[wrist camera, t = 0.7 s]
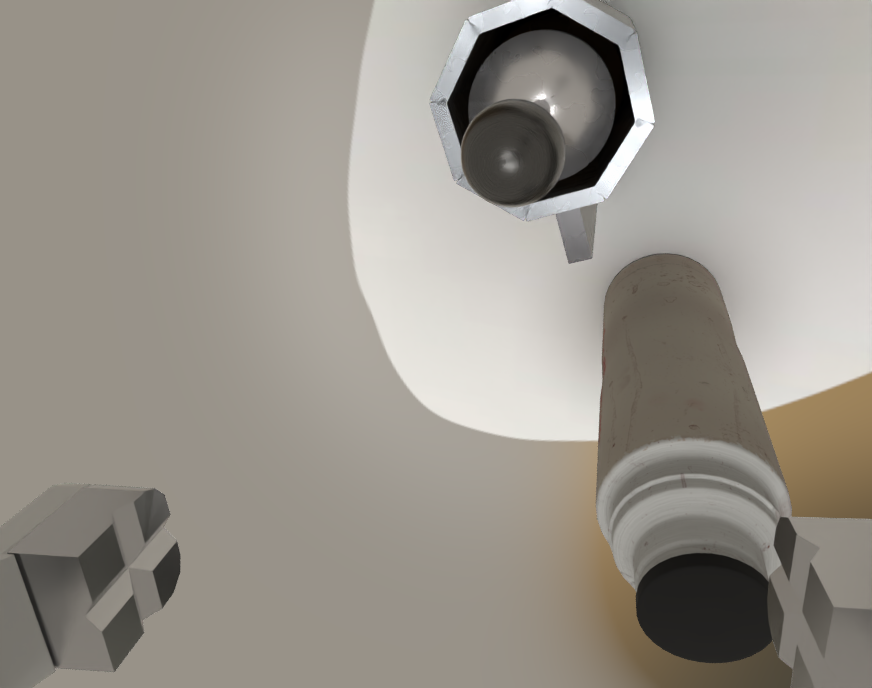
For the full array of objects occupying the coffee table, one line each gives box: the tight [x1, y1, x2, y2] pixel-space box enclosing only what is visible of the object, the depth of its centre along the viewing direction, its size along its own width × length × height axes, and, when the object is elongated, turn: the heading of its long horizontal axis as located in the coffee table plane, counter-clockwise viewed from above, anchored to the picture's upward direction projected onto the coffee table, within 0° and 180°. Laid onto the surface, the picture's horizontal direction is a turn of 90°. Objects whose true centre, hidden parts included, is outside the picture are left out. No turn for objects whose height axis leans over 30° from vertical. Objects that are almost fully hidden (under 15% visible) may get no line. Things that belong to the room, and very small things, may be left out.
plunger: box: [461, 29, 615, 208], centre depth 27 cm, size 7×7×12 cm
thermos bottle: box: [596, 254, 792, 663], centre depth 36 cm, size 8×8×28 cm
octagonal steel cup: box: [429, 0, 655, 264], centre depth 38 cm, size 10×13×14 cm
